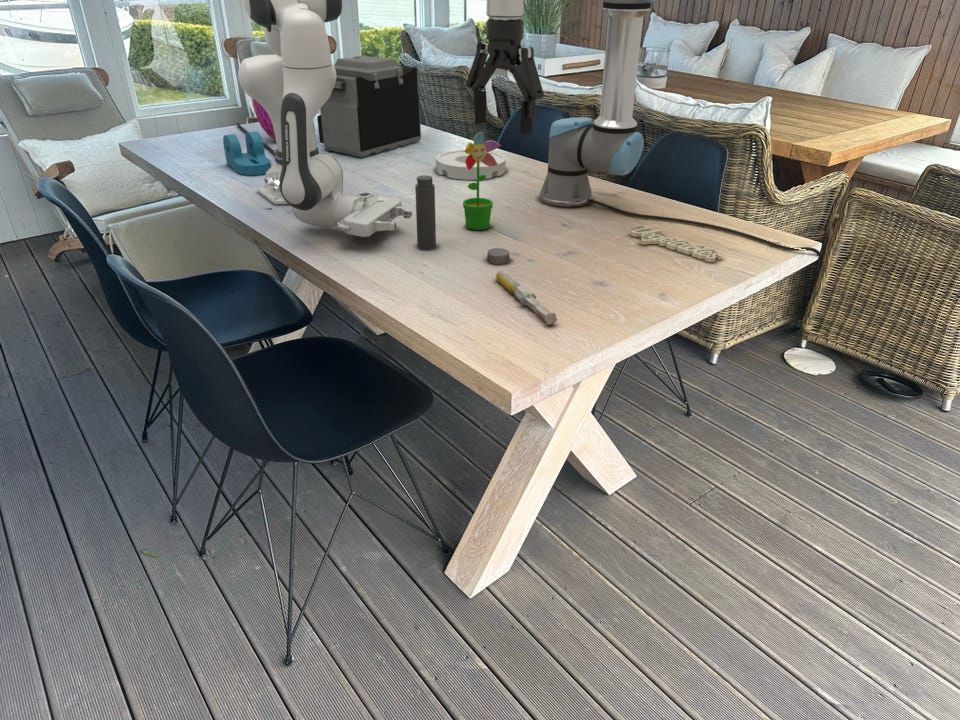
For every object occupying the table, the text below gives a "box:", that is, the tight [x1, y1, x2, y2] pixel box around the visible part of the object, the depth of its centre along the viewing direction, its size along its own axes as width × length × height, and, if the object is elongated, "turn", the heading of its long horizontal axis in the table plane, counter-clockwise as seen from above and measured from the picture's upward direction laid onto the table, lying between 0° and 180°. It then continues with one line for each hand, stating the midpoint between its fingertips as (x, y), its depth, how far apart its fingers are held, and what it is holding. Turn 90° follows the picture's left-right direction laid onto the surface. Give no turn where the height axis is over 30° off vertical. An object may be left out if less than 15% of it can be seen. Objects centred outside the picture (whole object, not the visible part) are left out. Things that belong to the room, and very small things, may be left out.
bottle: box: [414, 175, 437, 251], centre depth 165 cm, size 5×5×17 cm
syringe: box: [495, 269, 558, 326], centre depth 143 cm, size 25×4×3 cm, turn 21°
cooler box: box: [316, 55, 422, 159], centre depth 250 cm, size 37×22×30 cm, turn 144°
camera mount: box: [222, 131, 272, 176], centre depth 226 cm, size 18×10×10 cm, turn 35°
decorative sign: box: [630, 224, 722, 263], centre depth 172 cm, size 26×1×10 cm
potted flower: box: [462, 131, 501, 231], centre depth 176 cm, size 9×8×25 cm
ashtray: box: [435, 149, 507, 181], centre depth 229 cm, size 23×23×4 cm
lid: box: [486, 247, 510, 265], centre depth 162 cm, size 5×5×2 cm
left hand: (403, 220), depth 169 cm, fingers open, 8 cm apart
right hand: (502, 128), depth 148 cm, fingers open, 13 cm apart
